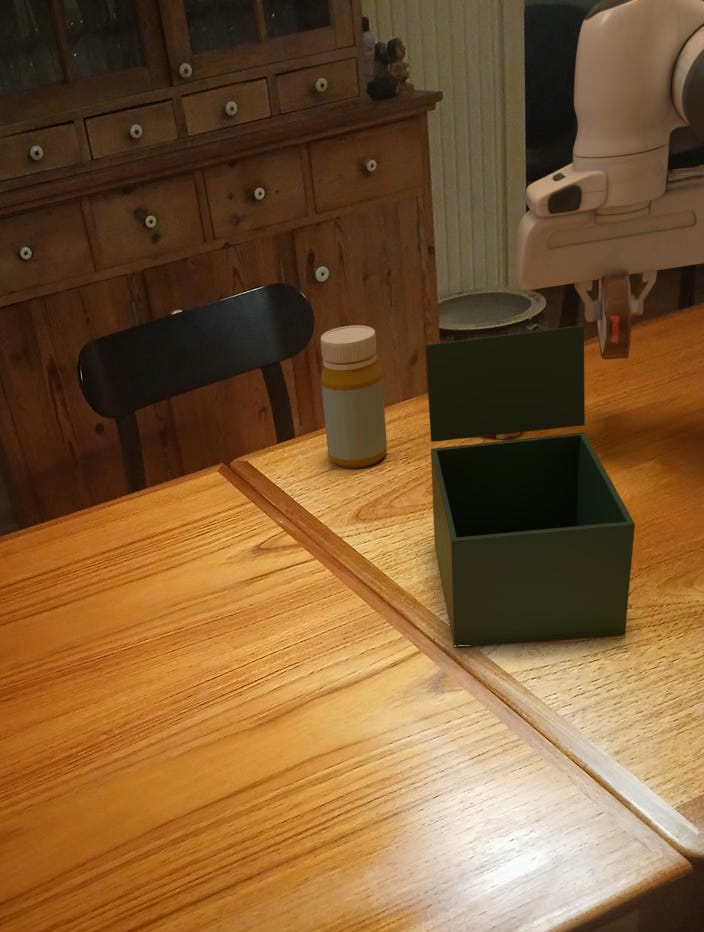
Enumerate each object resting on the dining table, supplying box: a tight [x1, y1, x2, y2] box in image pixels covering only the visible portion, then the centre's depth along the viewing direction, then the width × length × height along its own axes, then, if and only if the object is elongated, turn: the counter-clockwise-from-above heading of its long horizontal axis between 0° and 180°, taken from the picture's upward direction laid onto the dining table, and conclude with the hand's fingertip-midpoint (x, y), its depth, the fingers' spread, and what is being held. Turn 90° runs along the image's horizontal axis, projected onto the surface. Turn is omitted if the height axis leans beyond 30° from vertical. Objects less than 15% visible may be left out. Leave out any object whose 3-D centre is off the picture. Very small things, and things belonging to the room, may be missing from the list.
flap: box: [424, 324, 586, 443], centre depth 90 cm, size 14×9×1 cm
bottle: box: [320, 325, 388, 469], centre depth 115 cm, size 7×7×15 cm
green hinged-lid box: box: [430, 431, 636, 647], centre depth 88 cm, size 14×18×10 cm
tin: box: [596, 272, 632, 360], centre depth 105 cm, size 15×3×8 cm, turn 165°
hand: (612, 316), depth 106 cm, fingers closed on tin, 3 cm apart
